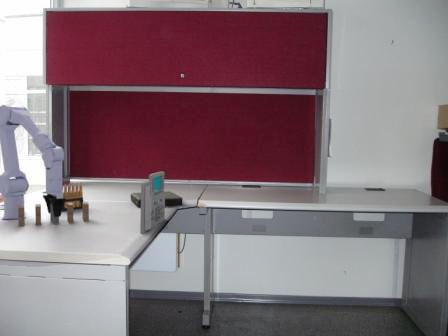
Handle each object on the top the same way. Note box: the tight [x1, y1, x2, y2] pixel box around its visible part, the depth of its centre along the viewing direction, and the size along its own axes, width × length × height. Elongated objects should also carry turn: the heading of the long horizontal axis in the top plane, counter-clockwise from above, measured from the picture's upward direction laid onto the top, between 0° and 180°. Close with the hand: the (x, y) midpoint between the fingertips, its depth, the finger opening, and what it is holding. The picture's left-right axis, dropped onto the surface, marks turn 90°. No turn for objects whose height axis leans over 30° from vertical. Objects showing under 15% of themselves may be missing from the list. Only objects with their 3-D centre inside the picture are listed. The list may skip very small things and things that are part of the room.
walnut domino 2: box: [34, 203, 42, 226], centre depth 148 cm, size 5×2×7 cm, turn 25°
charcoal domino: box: [49, 204, 60, 225], centre depth 150 cm, size 5×2×7 cm, turn 38°
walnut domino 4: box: [81, 201, 90, 223], centre depth 155 cm, size 5×2×7 cm, turn 25°
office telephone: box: [139, 171, 166, 234], centre depth 147 cm, size 23×3×20 cm, turn 170°
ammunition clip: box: [62, 182, 84, 212], centre depth 175 cm, size 11×2×12 cm, turn 138°
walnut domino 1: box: [17, 204, 26, 227], centre depth 146 cm, size 5×2×7 cm, turn 25°
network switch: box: [130, 190, 183, 209], centre depth 195 cm, size 23×23×5 cm
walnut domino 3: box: [66, 203, 74, 224], centre depth 153 cm, size 5×2×7 cm, turn 25°
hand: (54, 214), depth 150 cm, fingers open, 7 cm apart
